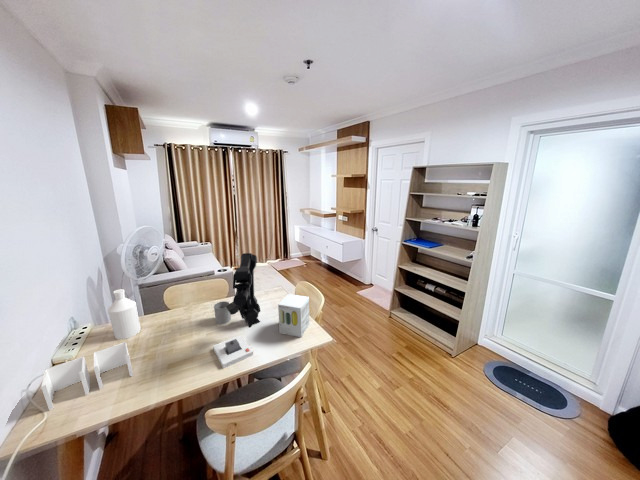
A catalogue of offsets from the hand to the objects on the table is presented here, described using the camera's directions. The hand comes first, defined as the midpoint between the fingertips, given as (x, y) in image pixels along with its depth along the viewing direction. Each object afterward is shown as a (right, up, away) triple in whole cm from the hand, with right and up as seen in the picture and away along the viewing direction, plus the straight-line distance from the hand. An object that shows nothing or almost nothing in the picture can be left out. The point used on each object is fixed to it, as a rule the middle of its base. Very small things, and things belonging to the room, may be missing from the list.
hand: (246, 322), depth 126 cm
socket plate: (-5, -13, -5) cm, 14 cm away
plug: (-5, -12, -5) cm, 14 cm away
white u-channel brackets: (-56, -18, -23) cm, 63 cm away
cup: (-20, -6, +22) cm, 30 cm away
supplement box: (+23, -8, +14) cm, 28 cm away
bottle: (-67, -9, +10) cm, 69 cm away
